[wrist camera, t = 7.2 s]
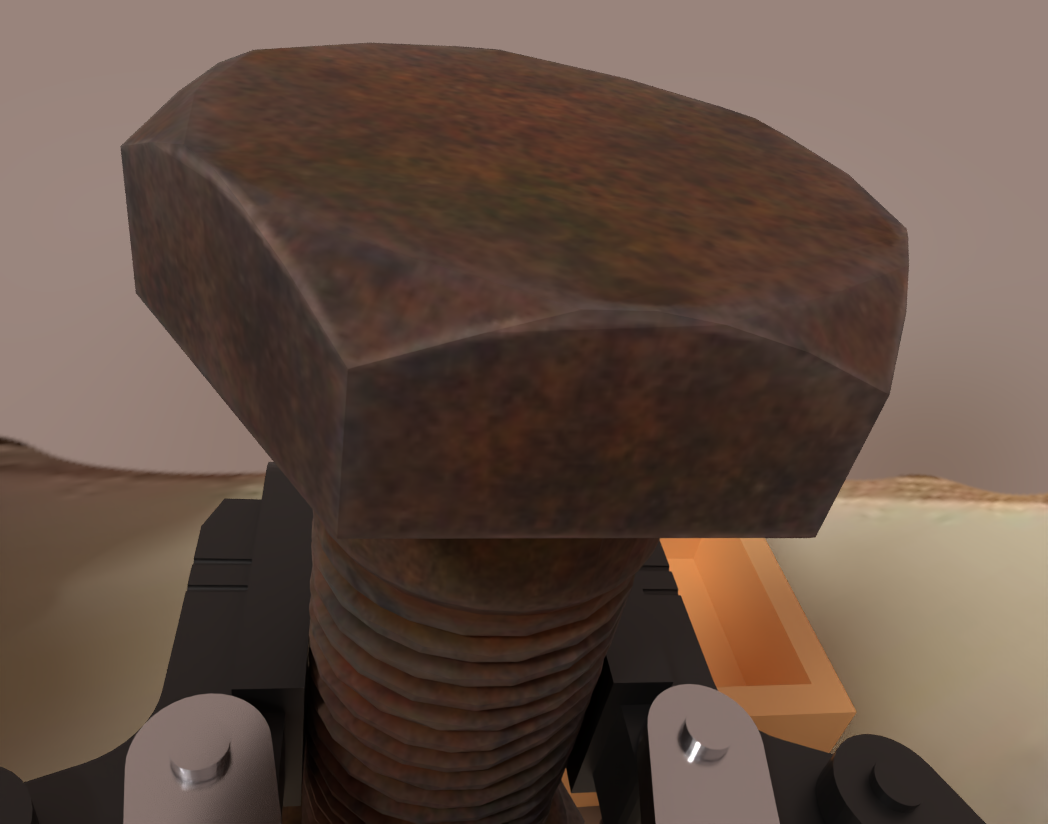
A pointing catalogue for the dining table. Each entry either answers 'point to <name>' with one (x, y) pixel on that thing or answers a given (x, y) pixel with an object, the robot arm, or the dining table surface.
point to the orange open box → (755, 642)
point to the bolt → (503, 374)
